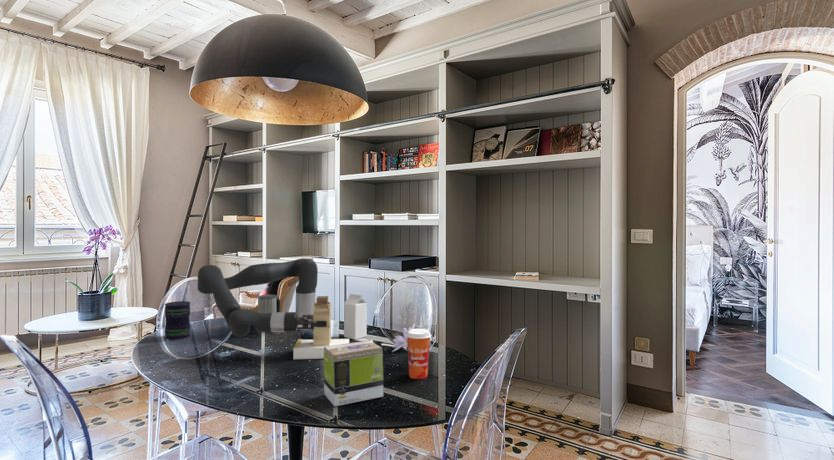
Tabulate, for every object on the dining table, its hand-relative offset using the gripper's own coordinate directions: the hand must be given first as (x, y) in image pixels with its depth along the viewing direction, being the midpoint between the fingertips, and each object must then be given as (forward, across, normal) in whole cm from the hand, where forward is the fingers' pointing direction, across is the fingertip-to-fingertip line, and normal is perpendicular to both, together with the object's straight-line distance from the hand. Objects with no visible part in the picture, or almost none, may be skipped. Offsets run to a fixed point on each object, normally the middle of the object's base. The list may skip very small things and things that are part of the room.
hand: (327, 321), depth 170 cm
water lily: (+30, +4, +13) cm, 33 cm away
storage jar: (-67, +30, +13) cm, 74 cm away
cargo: (-2, 0, -6) cm, 6 cm away
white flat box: (-2, 0, +12) cm, 13 cm away
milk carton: (+10, +24, +13) cm, 29 cm away
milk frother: (-36, +50, +13) cm, 63 cm away
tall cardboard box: (-2, 0, +8) cm, 9 cm away
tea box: (+11, -43, +13) cm, 46 cm away
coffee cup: (+32, -28, +13) cm, 44 cm away
